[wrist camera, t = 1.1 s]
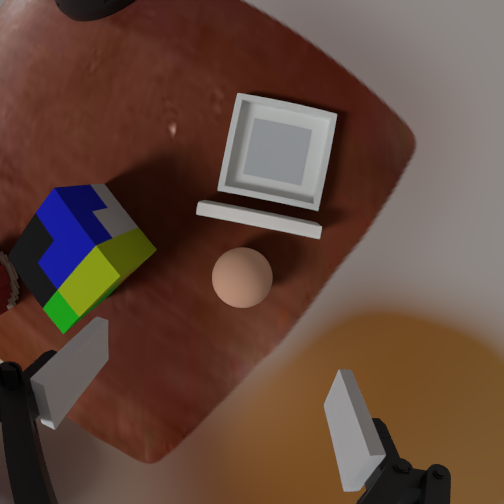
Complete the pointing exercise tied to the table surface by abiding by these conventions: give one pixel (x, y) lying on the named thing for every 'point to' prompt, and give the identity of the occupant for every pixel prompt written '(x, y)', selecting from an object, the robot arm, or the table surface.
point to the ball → (242, 277)
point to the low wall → (259, 218)
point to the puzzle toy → (78, 251)
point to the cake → (7, 284)
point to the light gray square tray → (277, 151)
